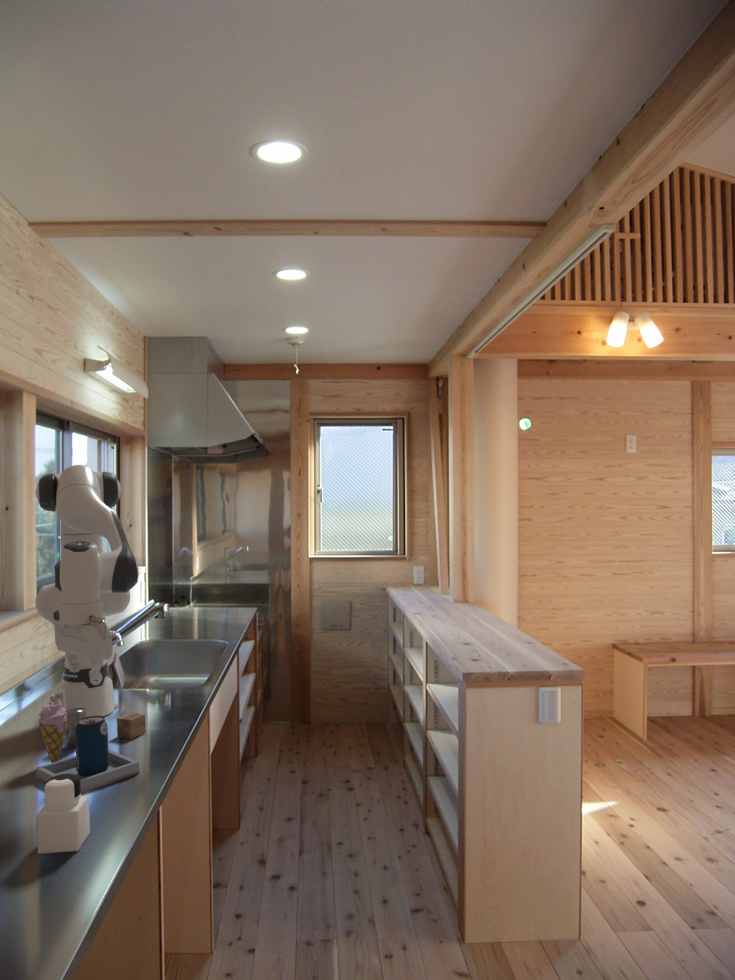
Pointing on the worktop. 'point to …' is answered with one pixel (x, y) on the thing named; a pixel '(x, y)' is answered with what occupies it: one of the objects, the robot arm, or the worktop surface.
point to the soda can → (91, 746)
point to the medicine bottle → (63, 816)
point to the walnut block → (131, 725)
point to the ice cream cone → (53, 728)
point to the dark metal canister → (73, 725)
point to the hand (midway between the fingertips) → (84, 675)
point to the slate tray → (116, 771)
